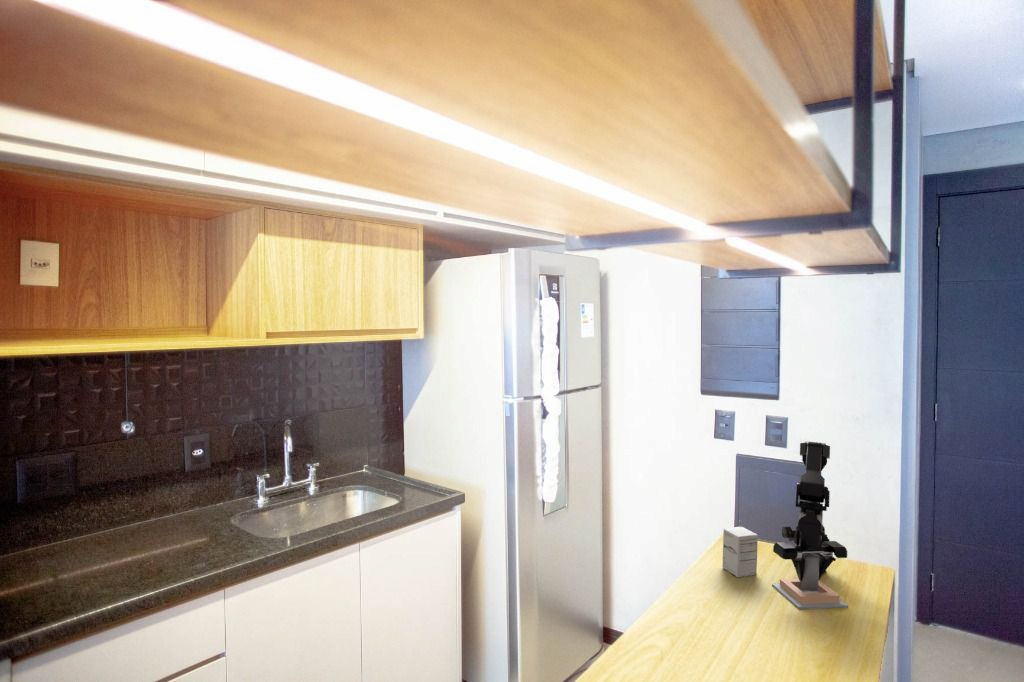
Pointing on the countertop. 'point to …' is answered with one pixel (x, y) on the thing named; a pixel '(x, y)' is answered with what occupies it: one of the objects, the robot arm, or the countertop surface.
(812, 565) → the grey rounded tapered cylinder
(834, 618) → the countertop surface
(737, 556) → the supplement box
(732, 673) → the countertop surface
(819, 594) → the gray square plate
